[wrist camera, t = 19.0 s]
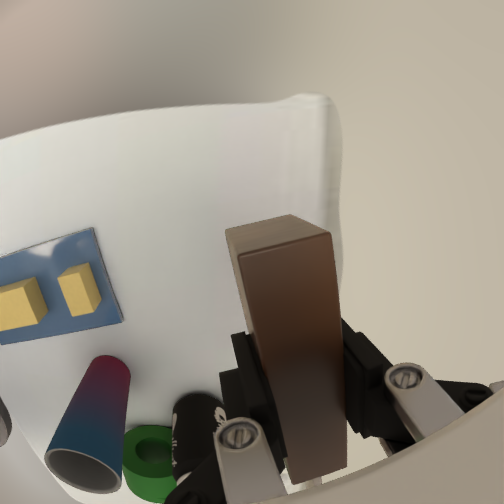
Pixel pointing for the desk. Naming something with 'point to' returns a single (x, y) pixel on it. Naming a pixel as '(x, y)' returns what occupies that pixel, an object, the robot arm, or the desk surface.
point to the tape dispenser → (149, 462)
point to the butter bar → (21, 304)
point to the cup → (93, 430)
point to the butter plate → (46, 272)
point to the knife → (296, 336)
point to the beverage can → (194, 432)
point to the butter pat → (80, 289)
